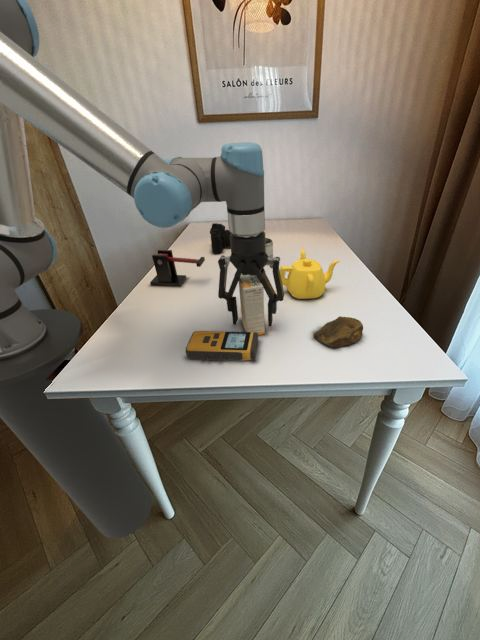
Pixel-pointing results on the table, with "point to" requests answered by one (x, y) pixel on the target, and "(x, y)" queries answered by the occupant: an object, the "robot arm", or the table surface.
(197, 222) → the table surface
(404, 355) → the table surface
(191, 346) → the electronic device
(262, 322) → the supplement box
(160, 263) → the lever bracket
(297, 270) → the teapot
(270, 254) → the glass jar
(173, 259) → the lever switch
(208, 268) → the table surface
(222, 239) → the film camera
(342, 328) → the decorative stone
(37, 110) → the robot arm
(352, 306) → the table surface
